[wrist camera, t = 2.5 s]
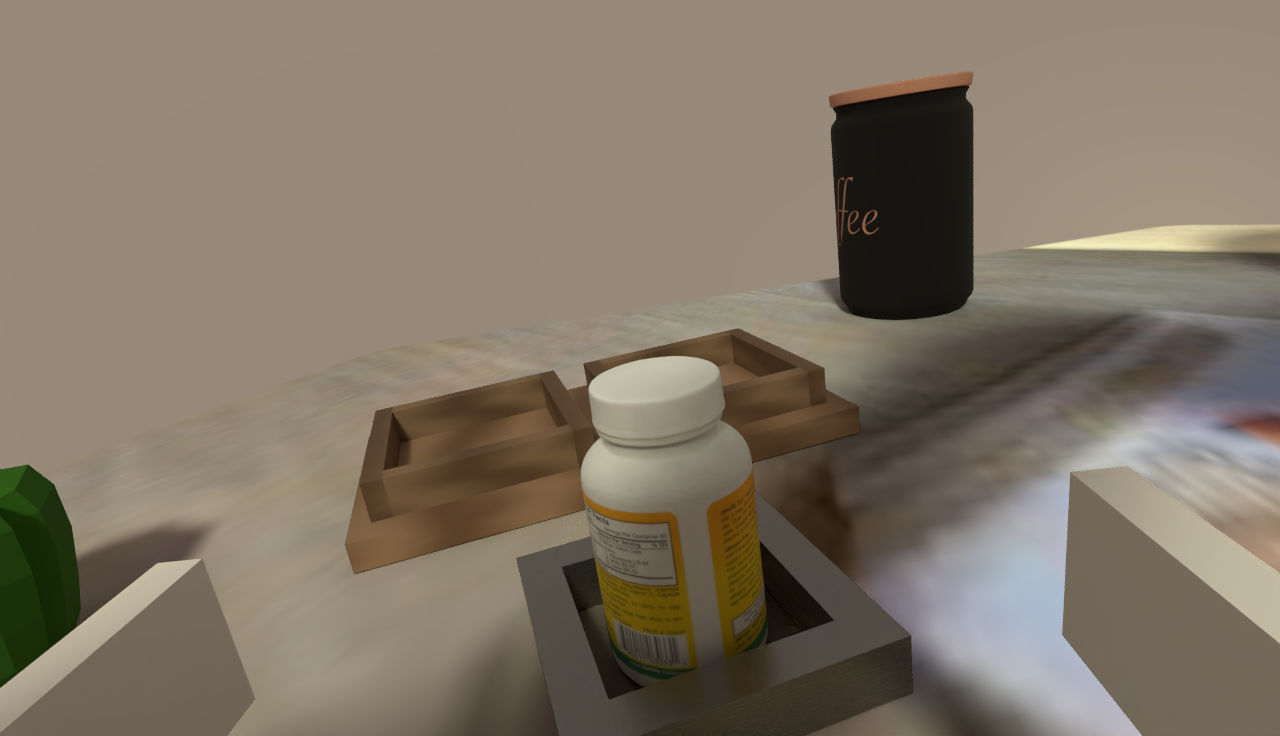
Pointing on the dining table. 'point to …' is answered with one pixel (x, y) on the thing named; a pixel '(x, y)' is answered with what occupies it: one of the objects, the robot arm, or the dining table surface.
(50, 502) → the bell pepper
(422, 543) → the walnut rack
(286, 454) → the dining table surface
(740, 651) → the supplement bottle
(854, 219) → the coffee jar
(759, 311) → the dining table surface
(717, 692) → the can holder
